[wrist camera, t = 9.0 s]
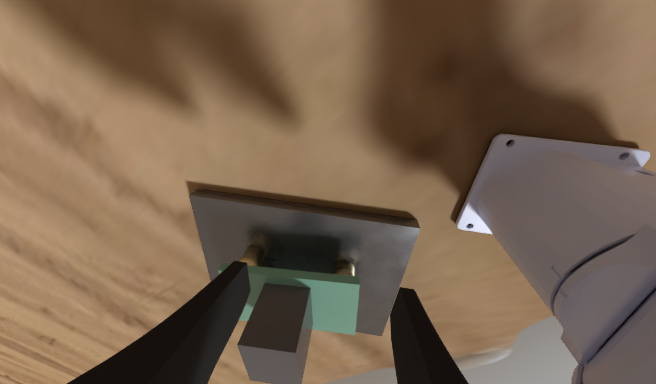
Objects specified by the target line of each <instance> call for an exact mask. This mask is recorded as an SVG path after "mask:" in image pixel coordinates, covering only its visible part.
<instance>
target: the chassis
mask: <svg viewBox="0 0 656 384" xmlns="http://www.w3.org/2000/svg"><path fill="white" fill-rule="evenodd" d="M189 197H190V201H191V205H192V209H193V213H194V217H195V220H196V224H197V228H198V232H199V236H200V240H201V244H202V248H203V252H204V256H205V259H206V263H207V267H208V271H209V275H210V279H211V281H212V280H214V279H215V278H216V277H217V276H218V275H219V272H218V269H219V268H220V266H221V265H222V264H223V263H227V264H231V263H232V262H233V261H240V262H247V266H257V267H267V268H277V269H287V270H298V271H308V272H318V273H328V274H338V275H348V276H358V277H360V288H359V299H358V310H357V321H356V332H361V333H367V334H372V335H378V336H382V334H383V331H384V328H385V326H386V323H387V320H388V317H389V314H390V312H391V309H392V306H393V303H394V300H395V297H396V295H397V292H398V289H399V286H400V283H401V281H402V278H403V275H404V272H405V269H406V267H407V264H408V261H409V258H410V255H411V253H412V250H413V247H414V244H415V241H416V239H417V236H418V233H419V230H420V227H419V224H418V221H417V220H415V219H408V218H401V217H394V216H387V215H379V214H372V213H365V212H358V211H351V210H344V209H337V208H330V207H323V206H315V205H308V204H301V203H294V202H287V201H280V200H273V199H266V198H258V197H251V196H244V195H237V194H230V193H223V192H216V191H209V190H202V189H197V190H195V191H194V192H193V193H192V194H190V195H189Z"/></svg>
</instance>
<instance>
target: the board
mask: <svg viewBox="0 0 656 384" xmlns="http://www.w3.org/2000/svg"><path fill="white" fill-rule="evenodd" d="M229 265H230V264H227V263H223V264H222V265H221V266H220V268H219V269H218V272H219V274H220V273H221V272H222V271H223V270H225V269H226V268H227V267H228V266H229ZM247 267H248V274H249V282H250V289H251V291H250V294H249V297H248V299H247V302H246V305H245V307H244V310H243V312H242V314H241V316H240V318H239V320H243V321H248V322H247V324H246V326H245V329H244V331H243V333H242V335H241V338H240V340H239V342H238V344H237V345H238V348H239V351H240V354H241V356H242V359H243V362H244V365H245V367H246V370H247V373H248V375H249V378H250V380H252V381H259V382H265V383H271V384H302V379H303V374H304V368H305V363H306V358H307V352H308V347H309V342H310V337H311V331H312V329H313V330H321V331H329V332H337V333H344V334H352V335H355V332H356V321H357V310H358V299H359V288H360V277H358V276H348V275H338V274H328V273H318V272H308V271H298V270H287V269H277V268H267V267H257V266H247Z"/></svg>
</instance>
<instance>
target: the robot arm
mask: <svg viewBox="0 0 656 384" xmlns="http://www.w3.org/2000/svg"><path fill="white" fill-rule="evenodd" d="M509 140H512V142H511V143H510V144H509V145H506V143H507V142H508V141H509ZM621 154H623V155H622V156H621V157H619V156H620V155H621ZM649 157H650V152H649V151H646V150H643V149H636V148H627V147H618V146H609V145H600V144H591V143H582V142H573V141H564V140H555V139H546V138H537V137H528V136H519V135H510V134H499V135H497V136H495V137H494V139H493V140H492V142H491V145H490V147H489V149H488V151H487V153H486V156H485V158H484V160H483V162H482V165H481V167H480V169H479V171H478V174H477V176H476V178H475V180H474V183H473V185H472V187H471V189H470V192H469V194H468V196H467V198H466V200H465V203H464V205H463V207H462V209H461V212H460V214H459V216H458V218H457V221H456V226H457V228H458V229H461V230H467V231H474V232H481V233H488V234H493V235H494V236H495V238H496V239H497V240H498V242H499V243H500V244H501V246H502V247H503V248H504V250H505V251H506V252H507V253H508V255H509V256H510V257H511V259H512V260H513V261H514V263H515V264H516V265H517V267H518V268H519V269H520V271H521V272H522V273H523V275H524V276H525V277H526V279H527V280H528V281H529V283H530V284H531V285H532V287H533V288H534V289H535V291H536V292H537V293H538V295H539V296H540V297H541V299H542V300H543V301H544V303H545V304H546V305H547V307H548V308H549V309H550V311H551V312H552V313H553V315H554V316H555V317H556V319H557V320H558V321H559V323H560V324H561V326H562V327H563V334H562V336H561V340H562V341H563V343H564V344H565V345H566V347H567V348H568V350H569V351H570V352H571V354H572V355H573V357H574V358H575V359H576V361H577V362H578V366H577V367H576V368H575V369H574V372H573V376H572V384H656V173H655V172H652V171H650V170H647V169H645V168H642V166H643V165H644V164H645V163H646V162H647V160H648V159H649ZM468 224H471V225H469V226H467V225H468ZM250 291H251V289H250V282H249V274H248V267H247V262H240V261H233V262H232V263H231V264H230V265H229V266H228V267H227V268H226V269H225V270H223V271H222V272H221V273H220V274H219V275H218V276H217V277H216V278H215V279H214V280H212V281H211V282H210V283H209V284H208V285H207V286H206V287H205V288H203V289H202V290H201V291H200V292H199V293H198V294H196V295H195V296H194V297H193V298H192V299H191V300H189V301H188V302H187V303H186V304H184V305H183V306H182V307H181V308H179V309H178V310H177V311H176V312H174V313H173V314H172V315H171V316H169V317H168V318H167V319H165V320H164V321H163V322H161V323H160V324H159V325H157V326H156V327H155V328H153V329H152V330H150V331H149V332H148V333H146V334H145V335H143V336H142V337H141V338H139V339H138V340H136V341H135V342H133V343H132V344H130V345H129V346H127V347H126V348H124V349H123V350H121V351H120V352H118V353H117V354H115V355H113V356H112V357H110V358H109V359H107V360H106V361H104V362H102V363H101V364H99V365H97V366H96V367H94V368H92V369H91V370H89V371H87V372H86V373H84V374H82V375H80V376H79V377H77V378H75V379H74V380H72V381H70V382H69V383H67V384H207V383H208V381H209V379H210V376H211V374H212V372H213V370H214V368H215V365H216V363H217V361H218V359H219V357H220V356H221V354H222V352H223V350H224V348H225V346H226V344H227V342H228V340H229V338H230V336H231V334H232V332H233V330H234V328H235V326H236V324H237V322H238V320H239V318H240V316H241V314H242V312H243V310H244V307H245V305H246V302H247V299H248V297H249V294H250ZM390 322H391V341H392V348H393V355H394V362H395V369H396V376H397V383H398V384H468V382H467V380H466V379H465V377H464V376H463V374H462V373H461V371H460V370H459V368H458V367H457V365H456V363H455V362H454V360H453V359H452V357H451V356H450V354H449V352H448V351H447V349H446V347H445V346H444V344H443V342H442V340H441V339H440V337H439V335H438V334H437V332H436V330H435V328H434V326H433V325H432V323H431V321H430V319H429V317H428V315H427V314H426V312H425V310H424V308H423V306H422V304H421V302H420V300H419V298H418V296H417V294H416V292H415V290H414V289H408V288H402V287H400V289H399V291H398V294H397V297H396V300H395V303H394V305H393V308H392V311H391V314H390Z"/></svg>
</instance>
